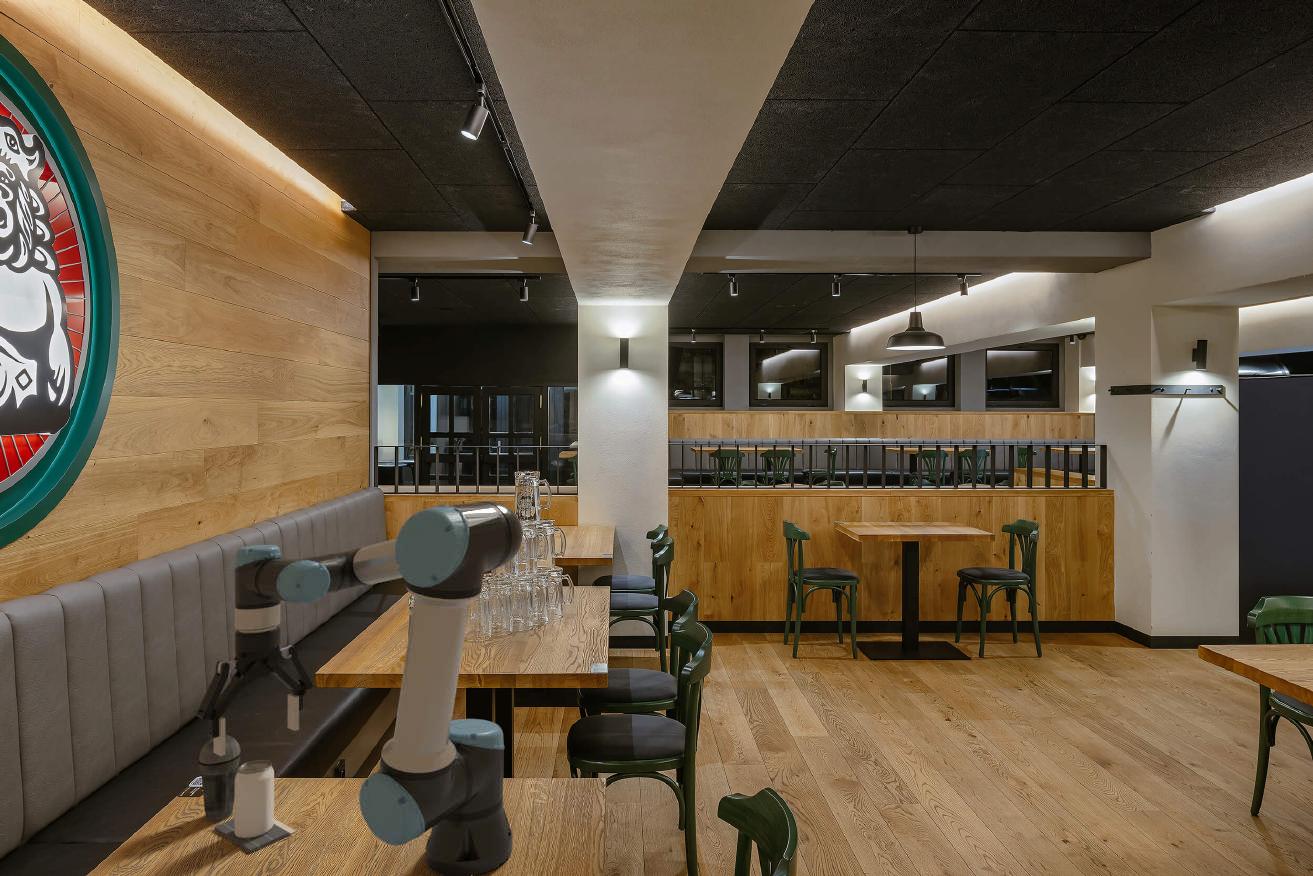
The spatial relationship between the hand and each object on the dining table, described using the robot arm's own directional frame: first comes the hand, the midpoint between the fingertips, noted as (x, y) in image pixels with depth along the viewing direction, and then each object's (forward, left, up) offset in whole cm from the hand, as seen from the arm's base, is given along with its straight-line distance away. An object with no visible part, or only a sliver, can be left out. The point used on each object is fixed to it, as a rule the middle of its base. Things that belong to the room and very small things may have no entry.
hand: (257, 741), depth 135 cm
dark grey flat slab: (+1, 0, -17) cm, 17 cm away
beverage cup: (+12, +1, -18) cm, 22 cm away
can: (0, 0, -17) cm, 17 cm away
